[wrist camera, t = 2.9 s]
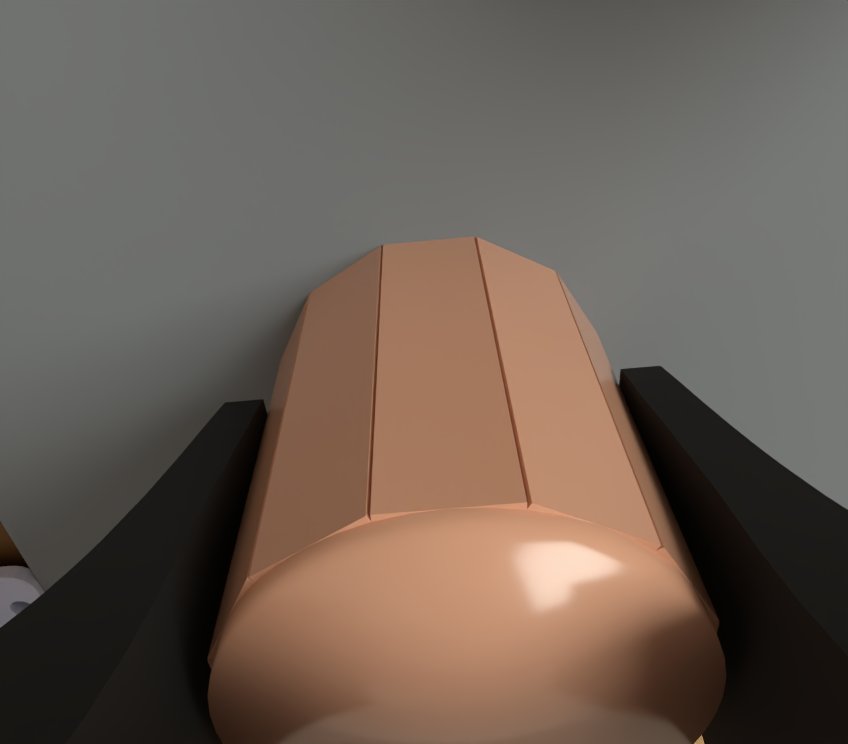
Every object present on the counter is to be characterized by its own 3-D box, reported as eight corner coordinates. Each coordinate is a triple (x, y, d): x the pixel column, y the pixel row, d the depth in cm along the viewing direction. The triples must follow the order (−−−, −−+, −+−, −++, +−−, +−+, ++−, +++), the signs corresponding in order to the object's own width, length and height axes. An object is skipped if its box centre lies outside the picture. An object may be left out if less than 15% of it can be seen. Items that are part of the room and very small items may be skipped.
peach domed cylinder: (587, 480, 14) (689, 812, 9) (315, 502, 14) (269, 840, 9) (605, 224, 11) (773, 518, 6) (254, 256, 11) (135, 568, 6)
